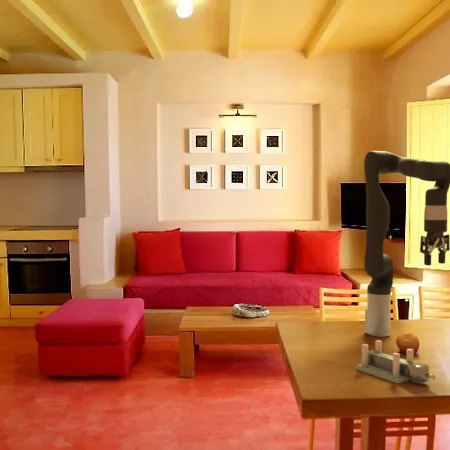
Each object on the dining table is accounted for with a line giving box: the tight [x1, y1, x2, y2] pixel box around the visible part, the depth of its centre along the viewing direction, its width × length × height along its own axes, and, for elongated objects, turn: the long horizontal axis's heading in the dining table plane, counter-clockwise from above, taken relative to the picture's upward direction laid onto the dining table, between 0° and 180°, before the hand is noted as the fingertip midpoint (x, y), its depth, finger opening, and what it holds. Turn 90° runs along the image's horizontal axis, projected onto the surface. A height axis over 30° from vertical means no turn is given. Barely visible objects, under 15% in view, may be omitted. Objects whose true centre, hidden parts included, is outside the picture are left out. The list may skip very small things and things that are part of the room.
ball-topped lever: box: [368, 349, 436, 383], centre depth 158 cm, size 24×6×4 cm, turn 35°
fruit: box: [395, 332, 420, 355], centre depth 184 cm, size 8×8×8 cm
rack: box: [356, 339, 414, 385], centre depth 162 cm, size 16×10×8 cm, turn 35°
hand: (434, 264), depth 177 cm, fingers open, 8 cm apart
